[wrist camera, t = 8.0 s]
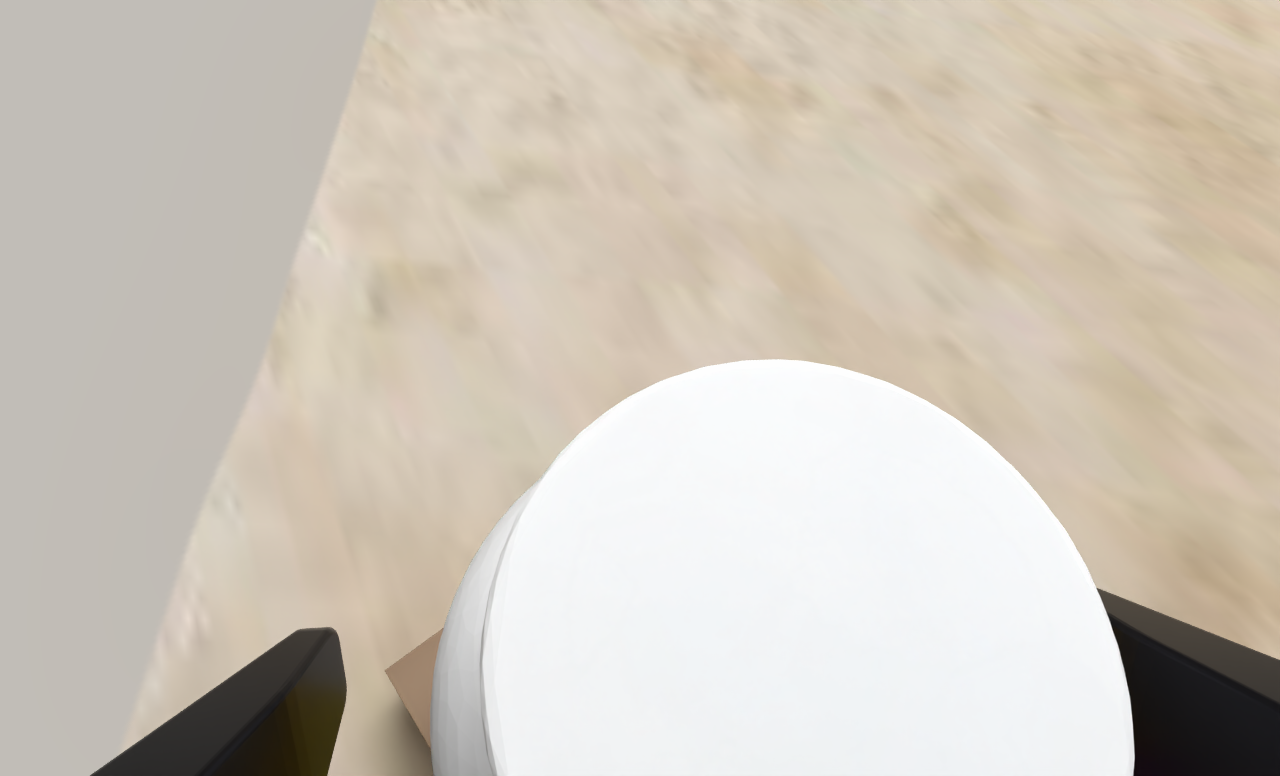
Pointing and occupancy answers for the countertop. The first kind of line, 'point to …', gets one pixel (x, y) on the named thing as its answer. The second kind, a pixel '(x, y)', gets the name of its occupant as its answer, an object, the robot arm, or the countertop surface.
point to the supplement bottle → (779, 599)
